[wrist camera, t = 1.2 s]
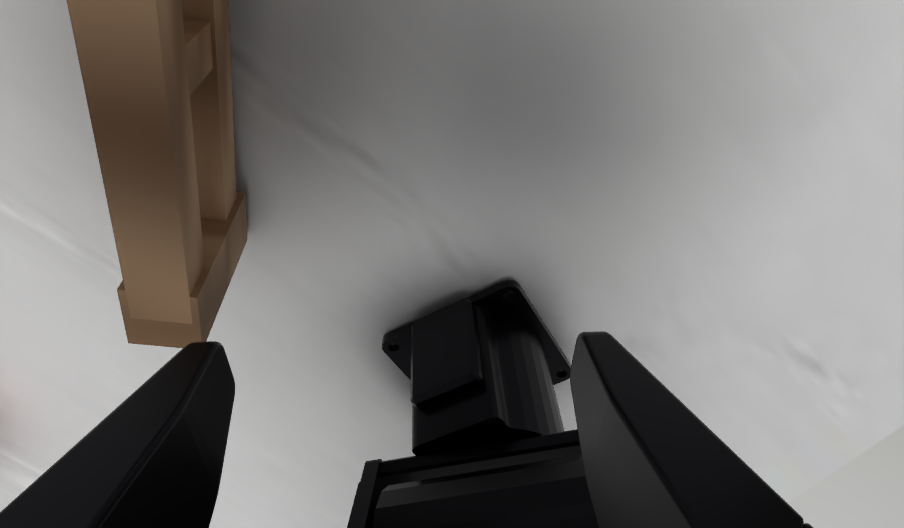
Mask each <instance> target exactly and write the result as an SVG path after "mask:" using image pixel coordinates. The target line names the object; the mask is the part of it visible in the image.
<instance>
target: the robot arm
mask: <svg viewBox="0 0 904 528" xmlns="http://www.w3.org/2000/svg"><path fill="white" fill-rule="evenodd" d="M509 291H512V292H513V293H511V294H508V295H507V294H504V293H506V292H509ZM391 343H396V345H392V344H391ZM382 349H383V351H384V352H385V353H386V354H387V355H388V357H389V358H390V359H391V360H392V361H393V362H394V363H395V364H396V365H397V366H398V367H399V368H400V369H401V370H402V371H403V373H404V374H405V375H406V376H407V377H408V378H409V379H410V380H411V402H412V451H413V453H414V454H415V455H416V456H412V457H406V458H400V459H393V460H387V461H382V460H381V459H378V460H372V461H366V463H365V466H364V470H363V474H362V478H361V482H359V484H358V488H357V491H356V495H355V499H354V503H353V507H352V511H351V515H350V519H349V522H348V526H347V528H813V527H812V526H811V525H810V524H807V523H805V524H803V523H804V522H803V518H802V517H801V516H800V515H799V514H798V513H797V512H796V511H795V510H794V509H793V508H792V507H791V506H790V505H789V504H788V503H787V502H785V501H784V500H783V499H782V498H781V497H780V496H779V495H778V494H777V493H776V492H775V491H774V490H773V489H772V488H771V487H770V486H769V485H768V484H767V483H766V482H765V481H763V480H762V479H761V478H760V477H759V476H758V475H757V474H756V473H755V472H754V471H753V470H752V469H751V468H750V467H749V466H748V465H747V464H746V463H745V462H744V461H743V460H741V459H740V458H739V457H738V456H737V455H736V454H735V453H734V452H733V451H732V450H731V449H730V448H729V447H728V446H727V445H726V444H725V443H724V442H723V441H722V440H721V439H719V438H718V437H717V436H716V435H715V434H714V433H713V432H712V431H711V430H710V429H709V428H708V427H707V426H706V425H705V424H704V423H703V422H702V421H701V420H700V419H699V418H697V417H696V416H695V415H694V414H693V413H692V412H691V411H690V410H689V409H688V408H687V407H686V406H685V405H684V404H683V403H682V402H681V401H680V400H679V399H678V398H677V397H675V396H674V395H673V394H672V393H671V392H670V391H669V390H668V389H667V388H666V387H665V386H664V385H663V384H662V383H661V382H660V381H659V380H658V379H657V378H656V377H655V376H653V375H652V374H651V373H650V372H649V371H648V370H647V369H646V368H645V367H644V366H643V365H642V364H641V363H640V362H639V361H638V360H637V359H636V358H635V357H634V356H633V355H631V354H630V353H629V352H628V351H627V350H626V349H625V348H624V347H623V346H622V345H621V344H620V343H619V342H618V341H617V340H616V339H615V338H614V337H613V336H612V335H610V334H609V333H607V332H582V333H580V334H579V336H578V337H577V341H576V345H575V350H574V355H573V360H572V365H571V366H570V363H569V361H568V360H567V358H566V357H565V355H564V354H563V352H562V350H561V349H560V347H559V346H558V344H557V343H556V341H555V340H554V338H553V336H552V335H551V333H550V332H549V330H548V329H547V327H546V326H545V324H544V322H543V321H542V319H541V318H540V316H539V315H538V313H537V312H536V310H535V308H534V307H533V305H532V304H531V302H530V301H529V299H528V298H527V296H526V295H525V293H524V291H523V290H522V288H521V287H520V285H519V284H518V283H517V282H515V281H512V280H507V281H503V282H501V283H499V284H496V285H494V286H492V287H490V288H488V289H485V290H483V291H481V292H479V293H476V294H474V295H472V296H470V297H468V298H465V299H463V300H461V301H459V302H457V303H454V304H452V305H450V306H448V307H446V308H443V309H441V310H439V311H437V312H434V313H432V314H430V315H428V316H426V317H423V318H421V319H419V320H417V321H415V322H412V323H410V324H408V325H406V326H403V327H401V328H399V329H397V330H395V331H392V332H390V333H388V334H386V335H385V336H384V337H383V342H382ZM561 370H562V371H561ZM569 378H570V384H571V391H572V397H573V403H574V409H575V415H576V421H577V428H578V429H577V430H571V431H565V432H564V428H563V424H562V420H561V416H560V412H559V408H558V404H557V399H556V395H555V391H554V387H553V385H555V384H557V383H560V382H562V381H565V380H567V379H569ZM234 396H235V382H234V377H233V374H232V371H231V368H230V365H229V362H228V359H227V356H226V353H225V350H224V348H223V346H222V345H221V343H219V342H193V343H190V344H188V345H186V346H185V347H184V348H183V349H182V350H181V351H180V352H178V353H177V354H176V355H175V356H174V357H173V358H172V359H171V360H170V361H168V362H167V363H166V364H165V365H164V366H163V367H162V368H161V369H160V370H158V371H157V372H156V373H155V374H154V375H153V376H152V377H151V378H149V379H148V380H147V381H146V382H145V383H144V384H143V385H142V386H141V387H139V388H138V389H137V390H136V391H135V392H134V393H133V394H132V395H131V396H129V397H128V398H127V399H126V400H125V401H124V402H123V403H122V404H120V405H119V406H118V407H117V408H116V409H115V410H114V411H113V412H112V413H110V414H109V415H108V416H107V417H106V418H105V419H104V420H103V421H102V422H100V423H99V424H98V425H97V426H96V427H95V428H94V429H93V430H92V431H90V432H89V433H88V434H87V435H86V436H85V437H84V438H83V439H81V440H80V441H79V442H78V443H77V444H76V445H75V446H74V447H73V448H71V449H70V450H69V451H68V452H67V453H66V454H65V455H64V456H63V457H61V458H60V459H59V460H58V461H57V462H56V463H55V464H54V465H52V466H51V467H50V468H49V469H48V470H47V471H46V472H45V473H44V474H42V475H41V476H40V477H39V478H38V479H37V480H36V481H35V482H34V483H32V484H31V485H30V486H29V487H28V488H27V489H26V490H25V491H24V492H22V493H21V494H20V495H19V496H18V497H17V498H16V499H15V500H13V501H12V502H11V503H10V504H9V505H8V506H7V507H6V508H5V509H3V510H2V511H1V512H0V528H209V524H210V521H211V518H212V514H213V510H214V507H215V503H216V499H217V495H218V490H219V485H220V480H221V474H222V468H223V462H224V456H225V450H226V444H227V438H228V432H229V426H230V420H231V414H232V408H233V402H234Z"/></svg>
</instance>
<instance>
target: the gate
mask: <svg viewBox="0 0 904 528" xmlns="http://www.w3.org/2000/svg"><path fill="white" fill-rule="evenodd" d="M67 4H68V9H69V14H70V19H71V24H72V29H73V34H74V39H75V44H76V48H77V53H78V58H79V63H80V68H81V73H82V78H83V83H84V88H85V93H86V98H87V103H88V108H89V113H90V118H91V123H92V128H93V133H94V138H95V143H96V148H97V153H98V158H99V163H100V168H101V173H102V178H103V183H104V188H105V193H106V198H107V203H108V208H109V213H110V217H111V222H112V227H113V232H114V237H115V242H116V247H117V252H118V257H119V262H120V267H121V272H122V277H123V281H122V283H121V284H120V286H119V287H118V289H117V292H118V297H119V301H120V306H121V311H122V315H123V320H124V325H125V330H126V334H127V339H128V343H132V344H143V345H154V346H165V347H176V348H184V347H185V346H186V345H188V344H190V343H193V342H206V340H207V338H208V335H209V333H210V330H211V328H212V325H213V323H214V320H215V318H216V315H217V313H218V311H219V308H220V306H221V303H222V301H223V298H224V296H225V293H226V291H227V288H228V286H229V283H230V281H231V278H232V276H233V273H234V271H235V269H236V266H237V264H238V261H239V259H240V256H241V254H242V251H243V249H244V246H245V244H246V241H247V218H246V193H245V192H238V191H236V168H235V145H234V121H233V98H232V74H231V51H230V27H229V4H228V0H67Z"/></svg>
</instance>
